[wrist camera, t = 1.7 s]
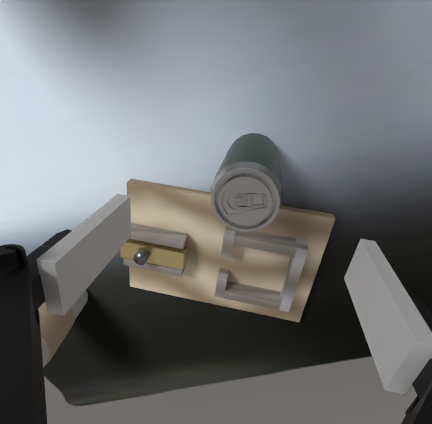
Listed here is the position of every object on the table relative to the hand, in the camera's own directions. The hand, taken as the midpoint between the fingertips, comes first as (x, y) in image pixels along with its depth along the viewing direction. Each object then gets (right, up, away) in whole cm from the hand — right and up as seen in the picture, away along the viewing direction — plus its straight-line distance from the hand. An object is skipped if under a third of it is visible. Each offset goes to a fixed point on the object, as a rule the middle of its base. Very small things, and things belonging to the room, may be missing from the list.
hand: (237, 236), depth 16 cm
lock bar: (-9, -3, +20) cm, 22 cm away
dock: (-1, -4, +21) cm, 21 cm away
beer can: (+3, +7, +15) cm, 17 cm away
